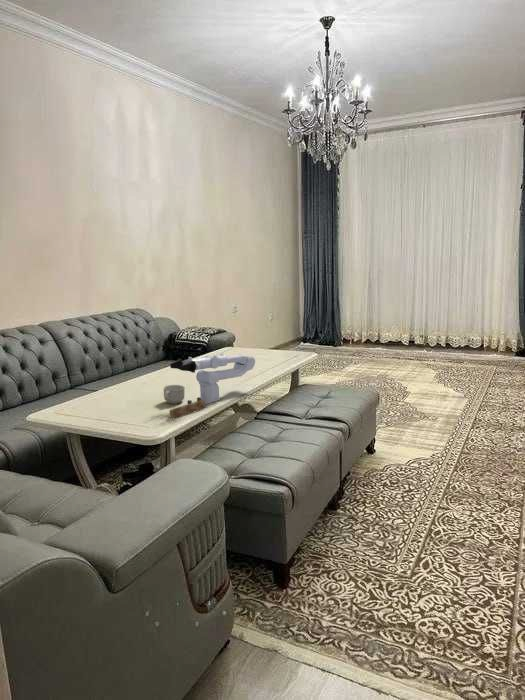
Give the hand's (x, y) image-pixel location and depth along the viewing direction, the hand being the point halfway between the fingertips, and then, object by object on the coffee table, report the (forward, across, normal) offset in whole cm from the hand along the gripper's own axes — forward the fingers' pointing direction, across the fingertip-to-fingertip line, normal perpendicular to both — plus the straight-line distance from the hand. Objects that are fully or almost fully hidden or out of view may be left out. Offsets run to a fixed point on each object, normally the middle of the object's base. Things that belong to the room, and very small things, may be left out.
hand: (175, 367), depth 258 cm
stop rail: (-2, +7, +22) cm, 23 cm away
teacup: (-8, -12, +21) cm, 26 cm away
